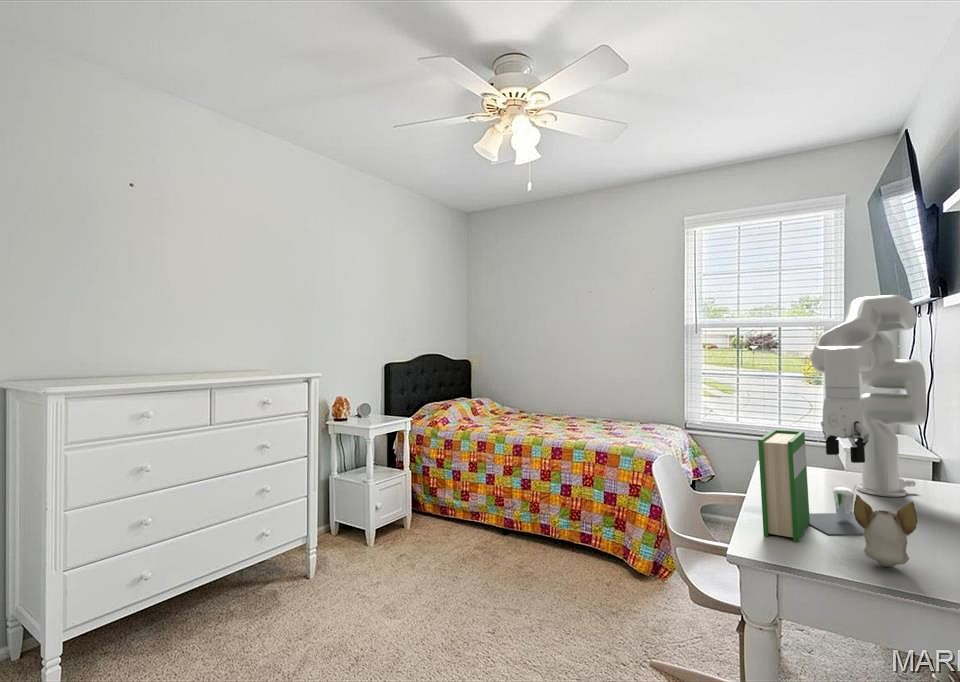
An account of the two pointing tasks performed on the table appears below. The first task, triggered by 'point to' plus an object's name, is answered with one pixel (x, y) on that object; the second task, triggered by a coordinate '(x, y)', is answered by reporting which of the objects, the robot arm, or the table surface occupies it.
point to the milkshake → (844, 504)
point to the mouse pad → (834, 524)
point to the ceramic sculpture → (886, 532)
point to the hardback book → (784, 483)
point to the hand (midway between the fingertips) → (844, 458)
